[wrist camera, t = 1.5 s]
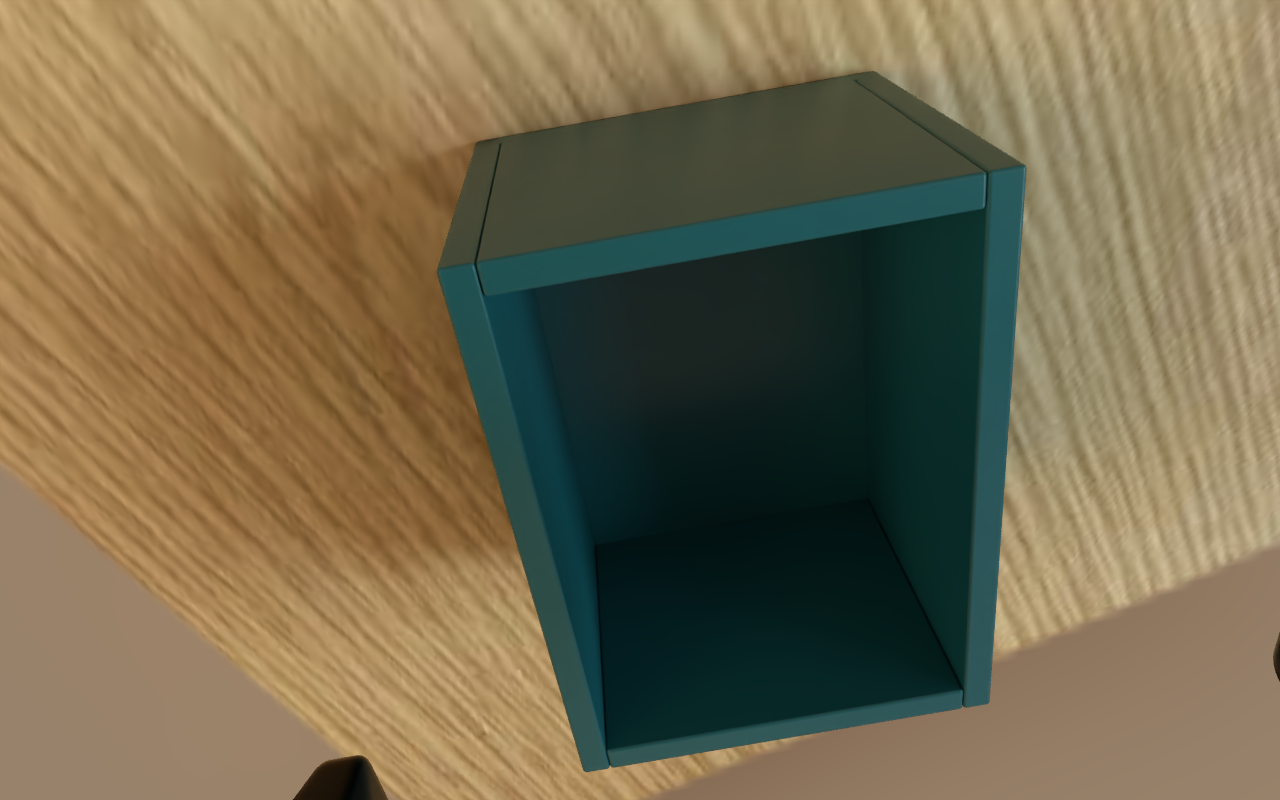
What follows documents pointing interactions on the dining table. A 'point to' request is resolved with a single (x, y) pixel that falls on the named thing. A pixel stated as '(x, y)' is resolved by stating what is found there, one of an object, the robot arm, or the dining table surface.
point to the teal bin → (747, 407)
